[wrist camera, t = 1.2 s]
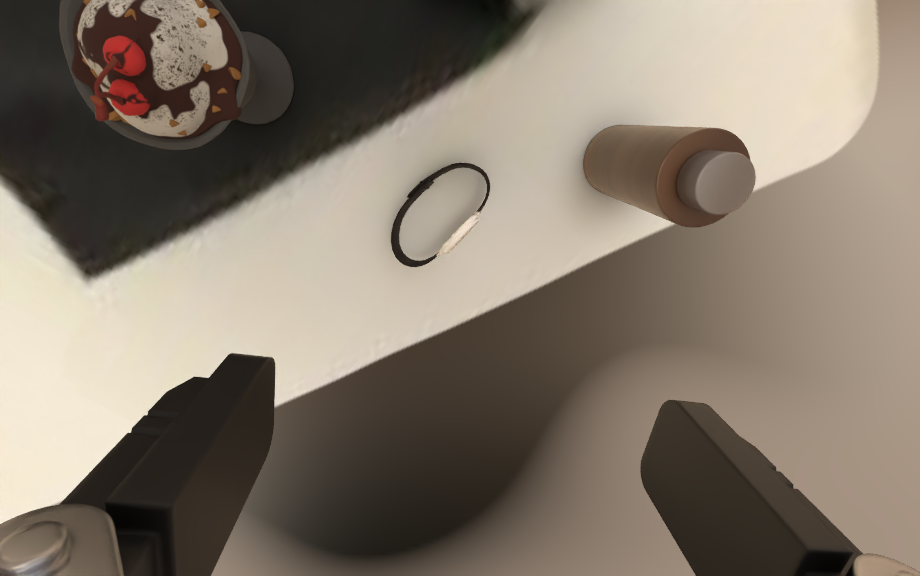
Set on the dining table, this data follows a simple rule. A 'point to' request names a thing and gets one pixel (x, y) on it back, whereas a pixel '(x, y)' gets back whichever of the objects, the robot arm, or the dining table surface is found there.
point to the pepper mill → (672, 171)
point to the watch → (456, 236)
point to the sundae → (171, 69)
